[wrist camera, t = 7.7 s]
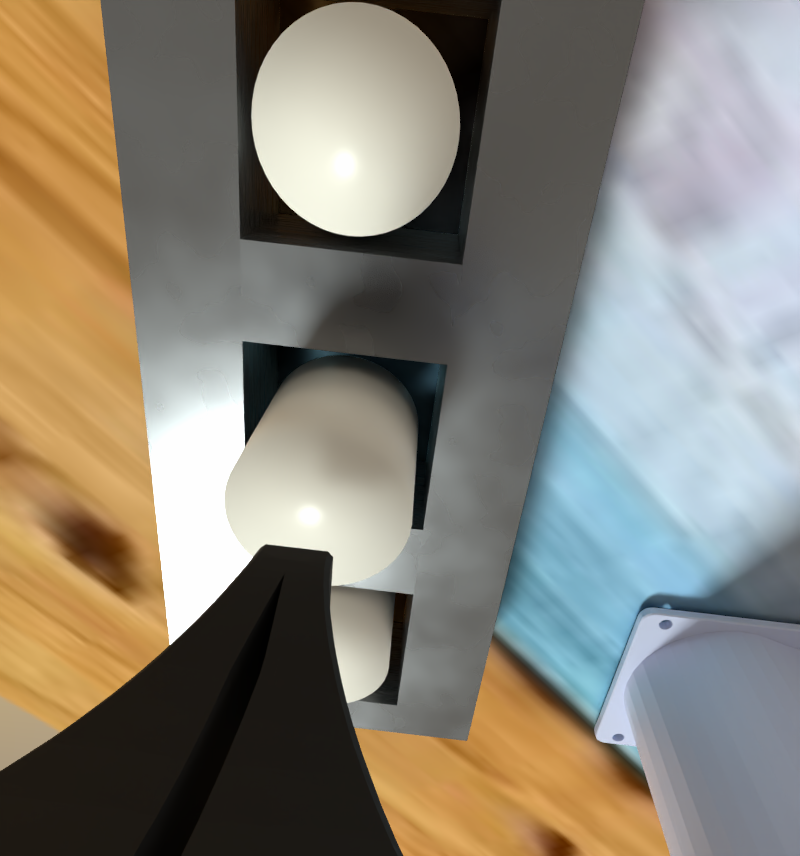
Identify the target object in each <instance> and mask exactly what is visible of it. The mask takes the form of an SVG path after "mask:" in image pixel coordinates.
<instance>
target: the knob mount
mask: <svg viewBox="0 0 800 856" xmlns="http://www.w3.org/2000/svg"><path fill="white" fill-rule="evenodd" d="M326 1H334V2H343V3H344V2H362V3H368V4H373V5H378V6H380V7H387V8H396V9H404V10H413V11H422V12H431V13H439V14H448V15H457V16H466V17H474V18H483V19H488V26H487V33H486V40H485V47H484V54H483V61H482V68H481V75H480V82H479V89H478V96H477V104H476V111H475V118H474V125H473V132H472V139H471V146H470V153H469V160H468V167H467V174H466V181H465V188H464V195H463V202H462V209H461V216H460V223H459V231H458V234H449V233H441V232H432V231H423V230H415V229H406V228H397V229H394V230H392V231H389V232H386V233H382V234H378V235H373V236H362V237H361V236H346V235H341V234H336V233H333V232H330V231H327V230H324V229H322V228H319V227H317V226H315V225H313V224H311V223H310V222H308V221H307V220H305V219H304V218H302V217H301V216H293V215H285V214H279V195H278V193H277V192H276V191H275V189H274V188H273V187H272V185H271V183H270V181H269V180H268V178H267V176H266V175H265V172H264V170H263V168H262V165H261V163H260V161H259V158H258V154H257V151H256V148H255V143H254V138H253V132H252V119H251V114H252V99H253V93H254V87H255V83H256V80H257V76H258V73H259V70H260V68H261V66H262V63H263V61H264V59H265V57H266V55H267V54H268V52H269V50H270V49H271V47H272V45H273V44H274V43H275V41H276V40H277V39H278V38H279V36H280V0H101V9H102V18H103V27H104V36H105V46H106V55H107V64H108V74H109V83H110V92H111V101H112V111H113V120H114V129H115V138H116V148H117V157H118V166H119V176H120V185H121V194H122V203H123V213H124V222H125V231H126V241H127V250H128V259H129V268H130V278H131V287H132V296H133V305H134V315H135V324H136V333H137V343H138V352H139V361H140V370H141V380H142V389H143V398H144V407H145V417H146V426H147V435H148V445H149V454H150V463H151V472H152V482H153V491H154V500H155V509H156V519H157V528H158V537H159V547H160V556H161V565H162V574H163V584H164V593H165V602H166V612H167V621H168V630H169V639H170V644H171V643H173V642H174V641H175V640H176V639H177V638H178V637H179V636H180V635H181V634H182V633H183V632H184V631H185V630H186V629H187V628H188V627H189V626H191V625H192V624H193V623H194V622H195V621H196V620H197V619H198V618H199V617H200V615H201V614H202V613H203V612H204V611H205V610H206V609H207V608H208V607H209V606H210V605H211V604H212V603H213V602H214V601H215V600H216V599H217V598H218V597H219V595H220V594H221V593H222V592H223V591H224V590H225V589H226V588H227V587H228V586H229V585H230V583H231V582H232V581H233V580H234V579H235V578H236V577H237V575H238V574H239V573H240V572H241V571H242V570H243V568H244V567H245V566H246V565H247V564H248V562H249V561H250V560H251V559H252V557H251V556H250V555H249V554H248V553H247V552H246V551H245V550H244V549H243V547H242V546H241V545H240V544H239V542H238V541H237V539H236V538H235V536H234V534H233V533H232V531H231V528H230V526H229V524H228V521H227V517H226V513H225V506H224V492H225V487H226V482H227V480H228V477H229V474H230V472H231V470H232V469H233V467H234V465H235V464H236V462H237V460H238V458H239V457H240V455H241V453H242V451H243V450H244V448H245V446H246V444H247V443H248V441H249V439H250V437H251V436H252V434H253V432H254V430H255V429H256V427H257V425H258V424H259V422H260V420H261V418H262V417H263V415H264V413H265V411H266V410H267V408H268V406H269V404H270V403H271V401H272V399H273V397H274V396H275V394H276V392H277V390H278V345H281V346H290V347H298V348H307V349H315V350H324V351H333V352H341V353H350V354H358V355H367V356H376V357H384V358H393V359H401V360H410V361H418V362H427V363H436V364H440V365H439V372H438V379H437V386H436V393H435V400H434V407H433V414H432V421H431V428H430V435H429V442H428V449H427V456H426V462H420V461H416V471H415V486H414V501H413V516H412V527H411V531H410V535H409V538H408V540H407V543H406V545H405V546H404V548H403V550H402V551H401V553H400V554H399V555H398V557H397V558H396V559H395V560H394V561H393V562H392V563H391V564H390V565H389V566H388V567H386V568H385V569H383V570H382V571H380V572H379V573H377V574H375V575H373V576H371V577H369V578H367V579H364V580H362V581H359V582H355V583H351V584H345V585H338V586H345V587H354V588H362V589H371V590H379V591H388V592H396V593H405V594H407V597H406V604H405V612H404V619H403V623H396V622H393V627H392V638H391V649H390V660H389V669H388V674H387V676H386V678H385V680H384V682H383V683H382V685H381V686H380V687H379V688H378V689H377V690H376V691H374V692H373V693H372V694H370V695H368V696H367V697H365V698H362V699H360V700H357V701H354V702H350V703H347V705H348V708H349V712H350V715H351V719H352V723H353V726H354V727H355V728H363V729H372V730H380V731H389V732H397V733H406V734H414V735H422V736H431V737H439V738H448V739H456V740H465V741H467V739H468V735H469V731H470V726H471V722H472V718H473V714H474V710H475V706H476V701H477V697H478V693H479V689H480V685H481V681H482V676H483V672H484V668H485V664H486V660H487V656H488V651H489V647H490V643H491V639H492V635H493V630H494V626H495V622H496V618H497V614H498V610H499V605H500V601H501V597H502V593H503V589H504V585H505V580H506V576H507V572H508V568H509V564H510V560H511V555H512V551H513V547H514V543H515V539H516V535H517V530H518V526H519V522H520V518H521V514H522V510H523V505H524V501H525V497H526V493H527V489H528V485H529V480H530V476H531V472H532V468H533V464H534V460H535V455H536V451H537V447H538V443H539V439H540V434H541V430H542V426H543V422H544V418H545V414H546V409H547V405H548V401H549V397H550V393H551V389H552V384H553V380H554V376H555V372H556V368H557V364H558V359H559V355H560V351H561V347H562V343H563V339H564V334H565V330H566V326H567V322H568V318H569V314H570V309H571V305H572V301H573V297H574V293H575V289H576V284H577V280H578V276H579V272H580V268H581V264H582V259H583V255H584V251H585V247H586V243H587V239H588V234H589V230H590V226H591V222H592V218H593V213H594V209H595V205H596V201H597V197H598V193H599V188H600V184H601V180H602V176H603V172H604V168H605V163H606V159H607V155H608V151H609V147H610V143H611V138H612V134H613V130H614V126H615V122H616V118H617V113H618V109H619V105H620V101H621V97H622V93H623V88H624V84H625V80H626V76H627V72H628V68H629V63H630V59H631V55H632V51H633V47H634V43H635V38H636V34H637V30H638V26H639V22H640V18H641V13H642V9H643V5H644V1H645V0H326Z"/></svg>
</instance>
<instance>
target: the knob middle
mask: <svg viewBox="0 0 800 856" xmlns="http://www.w3.org/2000/svg"><path fill="white" fill-rule="evenodd" d="M417 441H418V415H417V411H416V407H415V404H414V402H413V399H412V397H411V396H410V394H409V392H408V390H407V389H406V388H405V386H404V385H403V384H402V383H401V382H400V381H399V380H398V379H397V378H396V377H395V376H394V375H393V374H392V373H390V372H389V371H388V370H387V369H385V368H383V367H382V366H380V365H378V364H376V363H374V362H371V361H369V360H366V359H363V358H359V357H354V356H346V355H333V356H326V357H321V358H317V359H314V360H311V361H309V362H307V363H305V364H303V365H301V366H300V367H298V368H297V369H295V370H294V371H293V372H292V373H290V374H289V375H288V376H287V377H286V379H285V380H284V381H283V382H282V384H281V385H280V387H279V389H278V390H277V392H276V394H275V396H274V397H273V399H272V401H271V403H270V404H269V406H268V408H267V410H266V411H265V413H264V415H263V417H262V418H261V420H260V422H259V424H258V425H257V427H256V429H255V430H254V432H253V434H252V436H251V437H250V439H249V441H248V443H247V444H246V446H245V448H244V450H243V451H242V453H241V455H240V457H239V458H238V460H237V462H236V464H235V465H234V467H233V469H232V470H231V472H230V474H229V477H228V480H227V482H226V487H225V492H224V506H225V513H226V517H227V521H228V524H229V526H230V528H231V531H232V533H233V534H234V536H235V538H236V539H237V541H238V542H239V544H240V545H241V546H242V547H243V549H244V550H245V551H246V552H247V553H248V554H249V555H250V556H251V557H252V558H253V556H254V555H255V554H256V552H257V551H258V550H259V549H260V548H261V547H262V546H264V545H265V544H269V545H277V546H286V547H294V548H303V549H311V550H320V551H328V552H329V553H330V554H331V555H332V556H333V569H332V585H331V586H338V585H345V584H351V583H355V582H359V581H362V580H364V579H367V578H369V577H371V576H373V575H375V574H377V573H379V572H380V571H382V570H383V569H385V568H386V567H388V566H389V565H390V564H391V563H392V562H393V561H394V560H395V559H396V558H397V557H398V555H399V554H400V553H401V551H402V550H403V548H404V546H405V545H406V543H407V540H408V538H409V535H410V531H411V527H412V516H413V501H414V486H415V471H416V456H417Z"/></svg>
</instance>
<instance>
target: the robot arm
mask: <svg viewBox="0 0 800 856" xmlns="http://www.w3.org/2000/svg"><path fill="white" fill-rule="evenodd" d="M332 569H333V556H332V555H331V554H330V553H329V552H328V551H320V550H311V549H303V548H294V547H286V546H277V545H269V544H265V545H264V546H262V547H261V548H260V549H259V550H258V551H257V552H256V554H255V555H254V556H253V558H252V559H251V560H250V561H249V562H248V564H247V565H246V566H245V567H244V568H243V570H242V571H241V572H240V573H239V574H238V575H237V577H236V578H235V579H234V580H233V581H232V582H231V583H230V585H229V586H228V587H227V588H226V589H225V590H224V591H223V592H222V593H221V594H220V595H219V597H218V598H217V599H216V600H215V601H214V602H213V603H212V604H211V605H210V606H209V607H208V608H207V609H206V610H205V611H204V612H203V613H202V614H201V615H200V617H199V618H198V619H197V620H196V621H195V622H194V623H193V624H192V625H191V626H189V627H188V628H187V629H186V630H185V631H184V632H183V633H182V634H181V635H180V636H179V637H178V638H177V639H176V640H175V641H174V642H173V643H171V644H170V645H169V646H168V647H167V648H166V649H165V650H164V651H163V652H162V653H161V654H160V655H159V656H157V657H156V658H155V659H154V660H153V661H152V662H151V663H149V664H148V665H147V666H146V667H145V668H144V669H143V670H141V671H140V672H139V673H138V674H137V675H135V676H134V677H133V678H132V679H131V680H129V681H128V682H127V683H126V684H124V685H123V686H122V687H121V688H119V689H118V690H117V691H116V692H114V693H113V694H112V695H111V696H109V697H108V698H107V699H105V700H104V701H103V702H101V703H100V704H99V705H97V706H96V707H95V708H93V709H92V710H91V711H89V712H88V713H86V714H85V715H84V716H82V717H81V718H80V719H78V720H77V721H76V722H74V723H73V724H71V725H70V726H69V727H67V728H66V729H64V730H63V731H62V732H60V733H59V734H57V735H56V736H54V737H53V738H52V739H50V740H48V741H47V742H45V743H44V744H42V745H41V746H39V747H37V748H36V749H34V750H33V751H31V752H30V753H28V754H27V755H25V756H23V757H22V758H21V759H19V760H17V761H16V762H14V763H12V764H11V765H9V766H8V767H6V768H5V769H3V770H1V771H0V856H403V854H402V852H401V850H400V848H399V846H398V844H397V841H396V839H395V837H394V834H393V832H392V830H391V827H390V825H389V823H388V820H387V818H386V815H385V813H384V811H383V808H382V806H381V803H380V801H379V798H378V795H377V793H376V790H375V787H374V784H373V782H372V779H371V776H370V774H369V771H368V768H367V766H366V763H365V760H364V757H363V755H362V752H361V748H360V745H359V742H358V739H357V736H356V733H355V729H354V726H353V723H352V719H351V715H350V712H349V708H348V705H347V701H346V697H345V693H344V689H343V684H342V680H341V676H340V671H339V666H338V661H337V656H336V650H335V644H334V637H333V629H332V621H331V613H330V600H331V585H332ZM663 620H667V621H665V622H661V621H663ZM594 732H595V736H596V738H597V740H599V741H601V742H604V743H612V744H621V745H629V746H637V749H638V752H639V755H640V759H641V762H642V765H643V768H644V772H645V775H646V778H647V781H648V785H649V788H650V791H651V794H652V797H653V801H654V804H655V807H656V810H657V814H658V817H659V820H660V823H661V827H662V830H663V833H664V836H665V839H666V843H667V846H668V849H669V852H670V856H800V625H799V624H790V623H782V622H773V621H765V620H756V619H748V618H739V617H731V616H722V615H714V614H705V613H697V612H688V611H680V610H671V609H663V608H646V609H644V610H642V611H641V612H640V613H639V615H638V617H637V620H636V622H635V625H634V627H633V630H632V633H631V635H630V638H629V640H628V643H627V645H626V648H625V651H624V653H623V656H622V658H621V661H620V663H619V666H618V669H617V671H616V674H615V676H614V679H613V681H612V684H611V687H610V689H609V692H608V694H607V697H606V699H605V702H604V705H603V707H602V710H601V712H600V715H599V718H598V720H597V723H596V725H595V728H594Z"/></svg>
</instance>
